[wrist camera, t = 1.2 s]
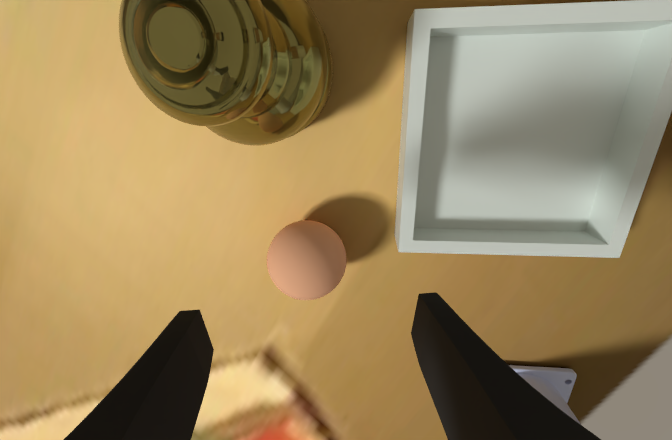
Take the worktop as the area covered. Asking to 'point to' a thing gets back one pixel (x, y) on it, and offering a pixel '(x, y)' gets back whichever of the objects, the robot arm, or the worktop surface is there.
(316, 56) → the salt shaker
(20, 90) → the worktop surface
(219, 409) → the worktop surface
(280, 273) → the ball
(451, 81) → the tray
